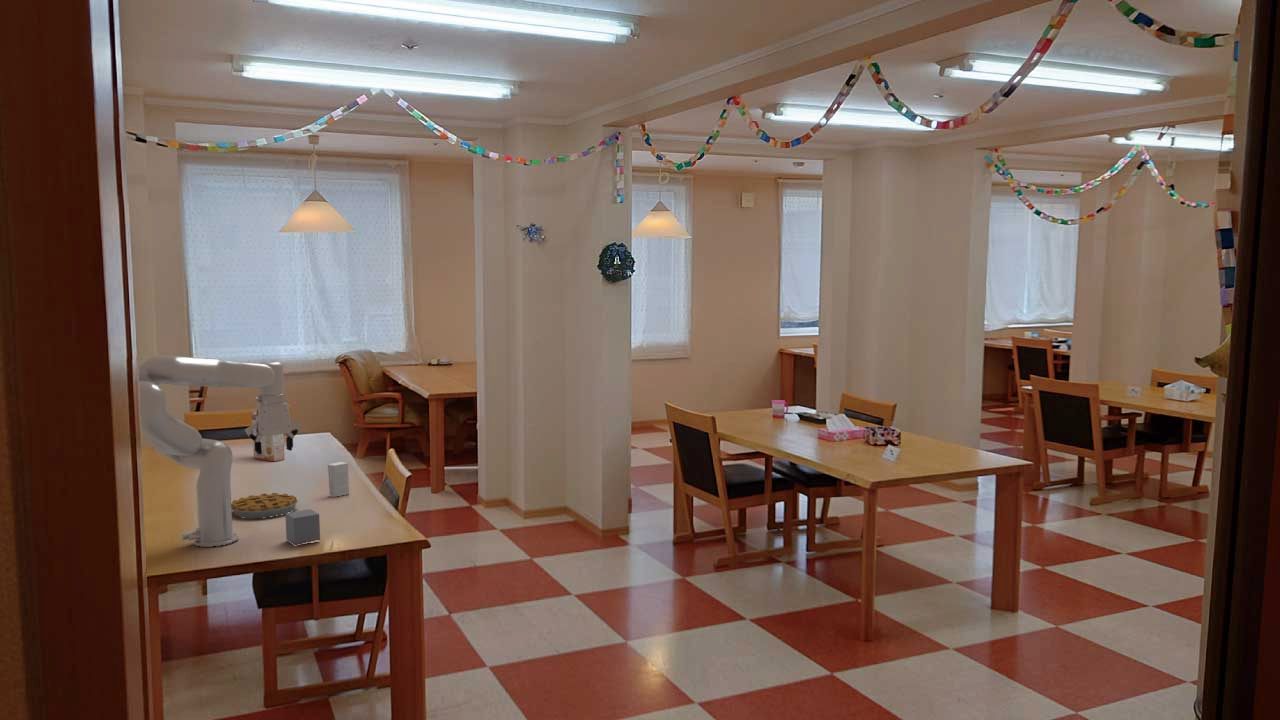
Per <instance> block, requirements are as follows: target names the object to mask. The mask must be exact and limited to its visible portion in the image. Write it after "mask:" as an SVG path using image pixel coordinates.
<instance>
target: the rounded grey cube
mask: <svg viewBox="0 0 1280 720" xmlns="http://www.w3.org/2000/svg"><path fill="white" fill-rule="evenodd" d="M284 516H285V534H286V535H285V537H286V539H287V540H288V541H290V542H291V543H293V544H294V545H298V544H302V543H306V542H311V541H315V540H320V541H321V527H320V526H321V525H320V524H321V523H320V513H319V512H317V511H314V510H313V509H311V508H310V509H309V508H308V509H304V510H297V511H292V512H290V513H285V515H284ZM287 540H286V541H287Z"/></svg>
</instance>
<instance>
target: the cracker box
mask: <svg viewBox="0 0 1280 720" xmlns="http://www.w3.org/2000/svg"><path fill="white" fill-rule="evenodd" d="M256 414H257V411H254V412H252V413H251V418H252V421H251V422H252V423H251V424H252V425H253V424H254V423H256ZM252 434H253V435H254V436H255V435H256V434H257V432H256V428H255V429H254V430H252ZM284 435H285V434H280V435H271V436H263V437H262V438H261V439H260V442H261V450H262V454H257V452H256V451H255V441H253V440H252V446H253V459H254V460H261V461H266V460H267V461H268V462H272V461H275V462H279V461H284V460H285V443H284V442H285V440H284V439H285V438H284ZM267 461H266V462H267Z"/></svg>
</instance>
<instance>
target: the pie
mask: <svg viewBox="0 0 1280 720" xmlns="http://www.w3.org/2000/svg"><path fill="white" fill-rule="evenodd" d="M298 502H299V500H298V499H297V497H295V496H294V495H292V494H290V495H289V494H288V493H282V494H280V493H275V492H272V493H271V494H267V493H261V494H260V495H249V496H248V497H240V498H239V499H238V500H237V499H235V500H232V501H231V507H232V512H234V514H235V516H236V515H237V516H240V517H245V518H263V517H270V516H276V515H281V514H285V513H288V512H291V511H292V510H293V509H294V510H295V507H296V504H298ZM294 510H293V511H294ZM293 511H292V512H293ZM237 516H236V517H237ZM281 516H282V515H281ZM240 517H239V518H240ZM245 518H244V519H245ZM263 519H264V518H263Z"/></svg>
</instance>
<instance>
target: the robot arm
mask: <svg viewBox="0 0 1280 720" xmlns="http://www.w3.org/2000/svg"><path fill="white" fill-rule="evenodd" d="M138 367H139V382H140V416H141V428H140V430H141V432H142V433H143V434H144V435H145V436H147V437H148V438H150V443H151V446H152V447H153V449H154V450H155V451H156V452H158V453H159V454H161V455H162V456H164V457H166V458H167V459H170V460H172V461H174V462H176V463H178V464H179V465H182V466H183V467H186V468H189V469H193V470H199V474H198V478H197V481H196V501H197V502H196V505H197V521H198V522H197V524H198V527H195V530H193V531H192V532H186V533H185V532H184V533H181V539H182V541H186V540H188V541H193V545H194V546H196V547H199V546H200V547H201V548H214V547H213V546H216V547H222V546H221V545H223V546H226V544H227V545H230V544H229V543H231V544H233V543H232V542H234V541H236V540H237V539H238V540H239V534H237V533H235V532H234V530H233V529H234V527H233V510H232V507H231V503H232V491H231V471H232V465H233V457H234V456H233V451H232V449H231V447H230V446H229V445H228V444H226V443H225V442H223V441H220V440H217V439H208V438H203V437H202V434H201V433H200V432H199V431H198V430H197V428H194V427H193V426H192V425H190V424H188V423H185V422H184V421H182V420H180V419H178V418H176V417H175V416H174V415H173V414H171V413H169V412H168V410H167V405H166V404H167V403H166V400H167V399H166V394H165V391H164V389H163V387H162V386H161V384H164V385H171V386H173V385H174V386H188V387H189V386H192V387H213V388H227V387H228V388H230V387H233V388H252V389H253V388H254V389H255V388H256V389H258V390H259V391H258V392H259V395H258V396H257V397H255V398H254V401H255V402H256V403H257V402H258V405H257V406H256V408H257V409H256V412H257V414H256V423H254V424H253V423H252V424H251V425H250V426H248V427H247V428H245V429H244V431H245V433H246V435H247V436H248V438H250V439H251V440H252V442H253V441H255V451H256V452H257V454H262V450H261V442H260V439H261V438H262V437H263V436H271V435H280V434H283V435H286V436H287V437H286V438H285V439H286V440H285V441H286V443H285V444H286V450H288V451H293V448H294V438H295V436H296V435H297V434H298V433H299V430H300V428H301V425H302V424H301V423H299V422H297V421H295V420H292V419H291V414H290V408H289V404H288V402H285V380H284V377H285V376H284V365H283V363H282V361H281V362H280V361H274V360H273V361H262V362H259V363H258V362H255V363H254V362H253V363H251V362H237V361H231V360H230V361H229V360H224V359H219V358H218V359H216V358H207V357H206V358H205V357H194V356H193V357H192V356H182V355H181V356H179V355H177V356H176V355H164V354H163V355H162V354H157V355H154V356H151V357H150V358H148V359H147V360H145V361H144V362H143V363H141V364H140V365H139V366H138ZM292 426H294V427H293V429H292ZM255 428H256V432H257V434H256V435H255V436H254V435H253V430H254V429H255ZM238 540H237V541H238ZM237 541H236V542H237ZM234 543H235V542H234Z"/></svg>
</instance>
